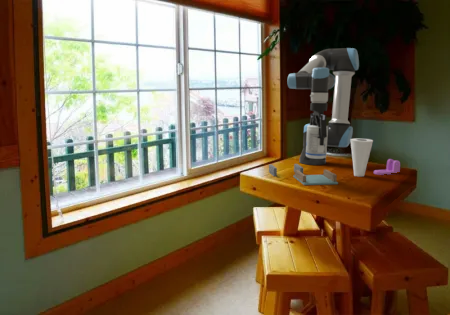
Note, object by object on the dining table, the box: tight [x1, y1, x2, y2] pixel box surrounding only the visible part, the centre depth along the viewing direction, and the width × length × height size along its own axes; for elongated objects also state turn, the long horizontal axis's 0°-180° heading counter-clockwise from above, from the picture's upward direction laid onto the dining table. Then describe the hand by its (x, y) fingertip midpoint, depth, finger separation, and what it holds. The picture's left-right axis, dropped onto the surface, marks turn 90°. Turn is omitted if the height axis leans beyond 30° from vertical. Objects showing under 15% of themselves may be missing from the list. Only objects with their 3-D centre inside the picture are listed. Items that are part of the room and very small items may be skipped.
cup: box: [350, 138, 374, 178], centre depth 195 cm, size 11×11×18 cm
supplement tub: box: [306, 125, 328, 159], centre depth 182 cm, size 10×10×15 cm
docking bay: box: [293, 169, 339, 186], centre depth 185 cm, size 16×16×4 cm
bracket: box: [373, 158, 401, 176], centre depth 202 cm, size 13×6×7 cm, turn 108°
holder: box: [268, 163, 304, 177], centre depth 198 cm, size 15×10×4 cm, turn 98°
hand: (316, 150), depth 183 cm, fingers closed on supplement tub, 10 cm apart
